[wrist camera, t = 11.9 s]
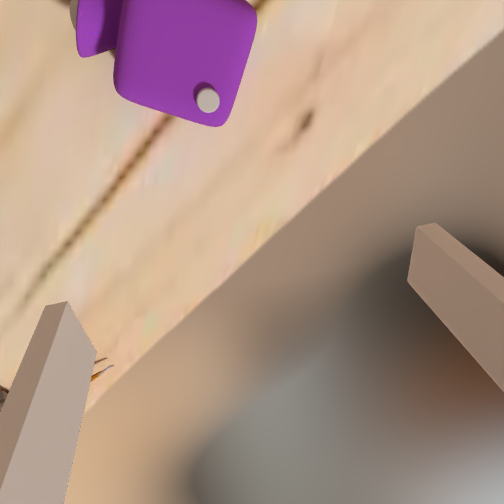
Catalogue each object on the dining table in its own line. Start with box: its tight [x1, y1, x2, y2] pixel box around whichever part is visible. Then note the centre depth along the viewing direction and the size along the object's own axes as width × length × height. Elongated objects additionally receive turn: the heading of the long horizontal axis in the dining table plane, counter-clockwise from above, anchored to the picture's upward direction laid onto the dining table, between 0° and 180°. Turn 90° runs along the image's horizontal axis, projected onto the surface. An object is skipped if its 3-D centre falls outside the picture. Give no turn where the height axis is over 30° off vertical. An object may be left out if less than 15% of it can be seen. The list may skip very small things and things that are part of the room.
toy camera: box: [70, 0, 257, 127], centre depth 29 cm, size 11×14×10 cm
